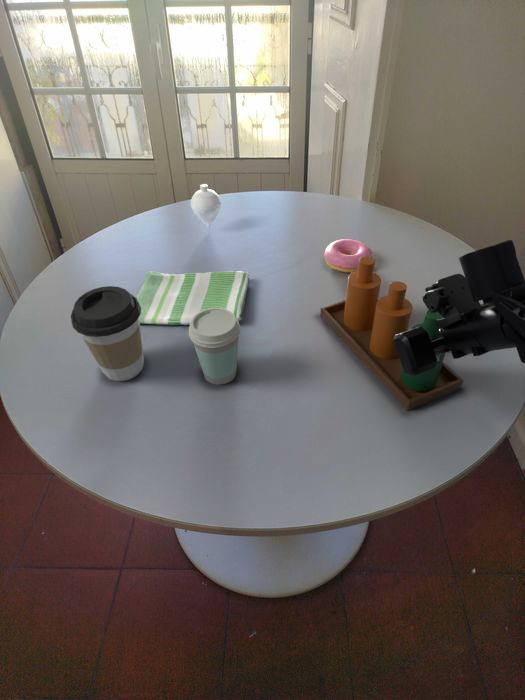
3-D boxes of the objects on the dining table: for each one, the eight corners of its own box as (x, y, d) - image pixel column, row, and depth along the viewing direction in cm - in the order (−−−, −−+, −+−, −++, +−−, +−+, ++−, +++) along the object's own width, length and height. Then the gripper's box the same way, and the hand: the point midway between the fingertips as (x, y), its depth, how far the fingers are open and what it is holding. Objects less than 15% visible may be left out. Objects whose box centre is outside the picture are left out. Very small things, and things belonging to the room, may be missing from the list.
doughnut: (315, 256, 112) (316, 241, 110) (356, 246, 115) (358, 231, 112) (337, 280, 105) (338, 264, 102) (379, 269, 108) (382, 253, 105)
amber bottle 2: (408, 346, 87) (423, 284, 78) (392, 364, 84) (406, 301, 74) (379, 333, 90) (390, 271, 81) (363, 350, 87) (372, 287, 77)
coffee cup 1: (114, 341, 92) (93, 277, 82) (166, 354, 89) (150, 288, 78) (79, 382, 84) (51, 316, 74) (134, 396, 81) (112, 330, 71)
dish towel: (149, 277, 108) (147, 267, 106) (250, 278, 106) (249, 268, 105) (127, 326, 95) (124, 315, 93) (241, 329, 93) (240, 318, 91)
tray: (460, 388, 80) (463, 380, 78) (406, 411, 76) (409, 402, 75) (366, 300, 99) (367, 292, 98) (320, 315, 96) (320, 307, 94)
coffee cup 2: (227, 350, 89) (221, 299, 81) (253, 376, 83) (249, 324, 75) (187, 370, 85) (177, 318, 77) (212, 398, 80) (203, 345, 72)
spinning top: (194, 223, 127) (188, 180, 119) (222, 221, 127) (218, 178, 119) (194, 237, 121) (188, 192, 113) (223, 235, 122) (219, 190, 114)
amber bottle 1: (379, 319, 93) (390, 258, 84) (364, 335, 90) (373, 273, 81) (354, 308, 96) (361, 248, 87) (337, 322, 93) (343, 262, 84)
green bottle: (443, 387, 79) (464, 322, 69) (410, 394, 78) (427, 329, 68) (425, 363, 83) (442, 299, 74) (394, 370, 82) (407, 306, 73)
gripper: (524, 253, 64) (450, 281, 79) (413, 290, 59) (356, 312, 74) (550, 330, 64) (471, 343, 79) (442, 373, 59) (379, 379, 74)
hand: (421, 343), depth 77 cm, fingers closed on green bottle, 6 cm apart
